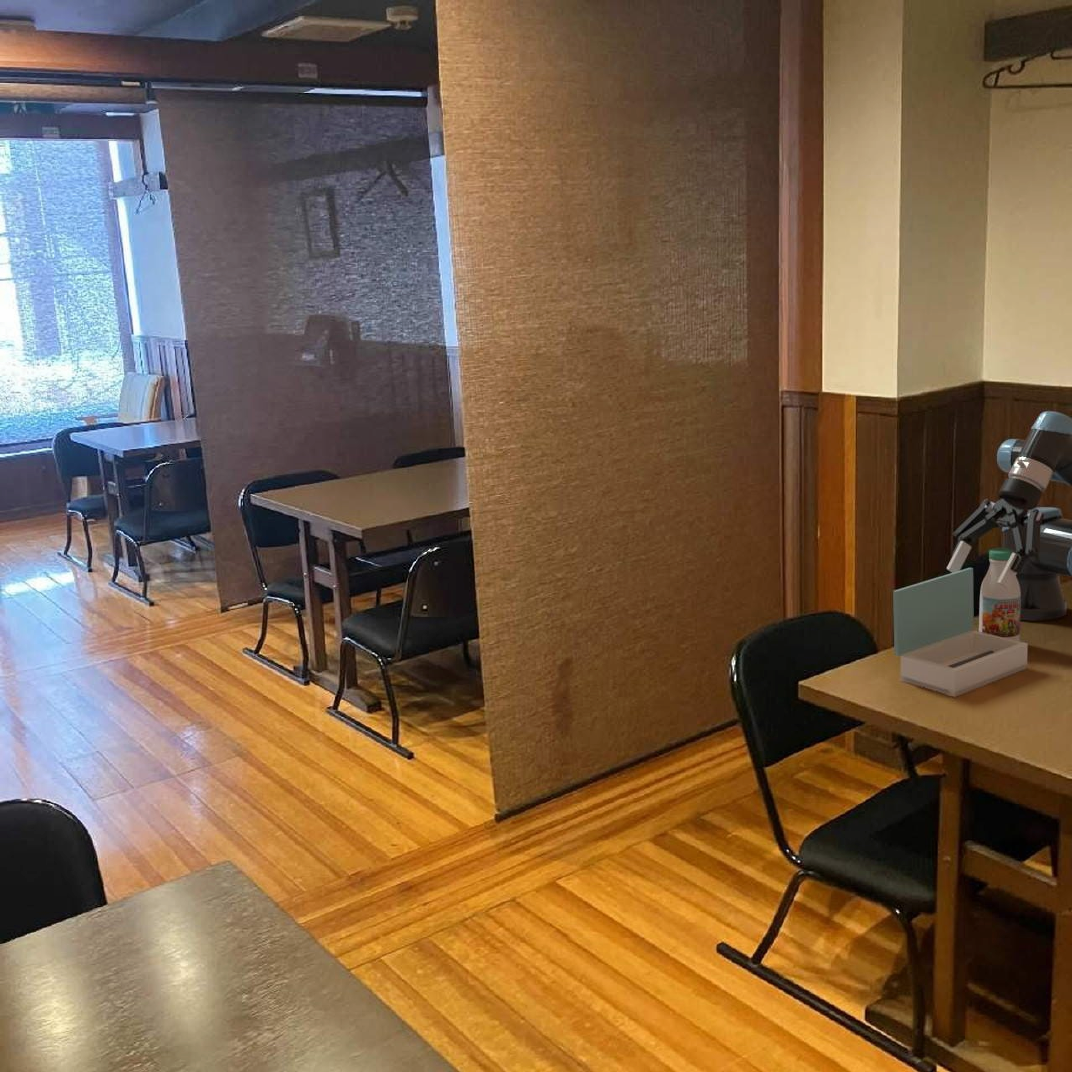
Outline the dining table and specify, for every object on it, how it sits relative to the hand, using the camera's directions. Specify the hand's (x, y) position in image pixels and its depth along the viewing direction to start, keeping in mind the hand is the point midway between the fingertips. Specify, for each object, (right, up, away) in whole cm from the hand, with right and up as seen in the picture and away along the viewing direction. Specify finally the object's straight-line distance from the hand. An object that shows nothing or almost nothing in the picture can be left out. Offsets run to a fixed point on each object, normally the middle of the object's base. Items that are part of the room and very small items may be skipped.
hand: (976, 578), depth 228 cm
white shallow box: (-6, -18, -9) cm, 21 cm away
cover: (-10, -6, -6) cm, 13 cm away
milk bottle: (+7, -14, +6) cm, 17 cm away
